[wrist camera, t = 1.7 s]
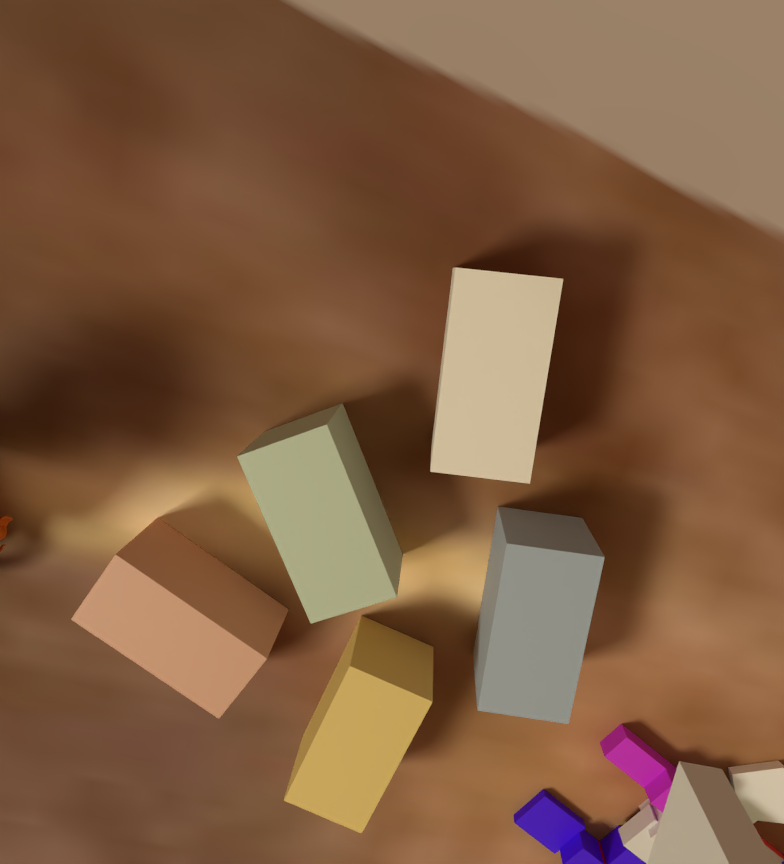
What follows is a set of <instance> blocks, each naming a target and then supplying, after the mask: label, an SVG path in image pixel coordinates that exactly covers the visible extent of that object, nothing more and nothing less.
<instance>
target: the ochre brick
mask: <svg viewBox="0 0 784 864" xmlns="http://www.w3.org/2000/svg"><path fill="white" fill-rule="evenodd" d="M433 650H434V647H432V646H430V645H428V644H426V643H423V642H421V641H419V640H416V639H414V638H412V637H410V636H407V635H405V634H403V633H400V632H398V631H396V630H394V629H391V628H389V627H387V626H384V625H382V624H380V623H378V622H375V621H373V620H371V619H368V618H366V617H364V616H362V615H361V617H360V619H359V621H358V623H357V625H356V627H355V629H354V632H353V634H352V636H351V638H350V640H349V642H348V644H347V646H346V648H345V650H344V652H343V654H342V656H341V658H340V660H339V662H338V665H337V667H336V669H335V671H334V673H333V675H332V677H331V679H330V681H329V683H328V685H327V687H326V689H325V691H324V693H323V696H322V698H321V700H320V702H319V704H318V706H317V708H316V710H315V712H314V714H313V716H312V718H311V720H310V722H309V724H308V726H307V729H306V731H305V733H304V735H303V737H302V740H301V744H300V747H299V751H298V754H297V757H296V761H295V764H294V768H293V771H292V774H291V778H290V781H289V784H288V788H287V791H286V795H285V798H284V801H286V802H288V803H291V804H293V805H296V806H298V807H300V808H303V809H305V810H307V811H310V812H312V813H314V814H317V815H319V816H321V817H324V818H326V819H329V820H331V821H333V822H336V823H338V824H340V825H343V826H345V827H347V828H350V829H352V830H354V831H357V832H359V833H362V832H363V830H364V828H365V826H366V824H367V822H368V821H369V819H370V817H371V815H372V813H373V811H374V810H375V808H376V806H377V804H378V802H379V800H380V798H381V797H382V795H383V793H384V791H385V789H386V787H387V785H388V784H389V782H390V780H391V778H392V776H393V774H394V772H395V771H396V769H397V767H398V765H399V763H400V761H401V760H402V758H403V756H404V754H405V752H406V750H407V748H408V747H409V745H410V743H411V741H412V739H413V737H414V735H415V734H416V732H417V730H418V728H419V726H420V724H421V723H422V721H423V719H424V717H425V715H426V713H427V711H428V710H429V708H430V706H431V704H432V702H433Z"/></svg>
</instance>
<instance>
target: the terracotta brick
mask: <svg viewBox="0 0 784 864" xmlns="http://www.w3.org/2000/svg"><path fill="white" fill-rule="evenodd" d="M288 610H289V609H287V608H286V607H285V606H283V605H282V604H280V603H279V602H277V601H276V600H275V599H273V598H272V597H270V596H269V595H267V594H266V593H265V592H263V591H262V590H260V589H259V588H257V587H256V586H255V585H253V584H252V583H250V582H249V581H247V580H246V579H245V578H243V577H242V576H240V575H239V574H237V573H236V572H234V571H233V570H232V569H230V568H229V567H227V566H226V565H224V564H223V563H222V562H220V561H219V560H217V559H216V558H214V557H213V556H212V555H210V554H209V553H207V552H206V551H204V550H203V549H202V548H200V547H199V546H197V545H196V544H194V543H193V542H192V541H190V540H189V539H187V538H186V537H184V536H183V535H182V534H180V533H179V532H177V531H176V530H174V529H173V528H172V527H170V526H169V525H167V524H166V523H164V522H163V521H162V520H160V519H159V518H157V519H156V520H154V521H153V522H152V523H151V524H150V525H149V526H148V527H146V528H145V529H144V530H143V531H142V532H141V533H140V534H138V535H137V536H136V537H135V538H134V539H133V540H132V541H130V542H129V543H128V544H127V545H126V546H125V547H124V548H122V549H121V550H120V551H119V552H118V553H117V554H116V555H115V556H114V557H113V559H112V560H111V562H110V563H109V565H108V566H107V568H106V569H105V571H104V572H103V574H102V575H101V576H100V578H99V579H98V581H97V582H96V584H95V585H94V587H93V588H92V590H91V591H90V593H89V594H88V595H87V597H86V598H85V600H84V601H83V603H82V604H81V606H80V607H79V609H78V610H77V611H76V613H75V614H74V616H73V617H72V619H71V620H73V621H74V622H76V623H77V624H79V625H80V626H82V627H83V628H85V629H86V630H88V631H89V632H91V633H92V634H94V635H95V636H96V637H98V638H99V639H101V640H102V641H104V642H105V643H107V644H108V645H110V646H111V647H113V648H114V649H116V650H117V651H119V652H120V653H122V654H123V655H125V656H126V657H128V658H129V659H131V660H132V661H134V662H135V663H137V664H138V665H140V666H141V667H143V668H144V669H146V670H147V671H149V672H150V673H152V674H153V675H155V676H156V677H157V678H159V679H160V680H162V681H163V682H165V683H166V684H168V685H169V686H171V687H172V688H174V689H175V690H177V691H178V692H180V693H181V694H183V695H184V696H186V697H187V698H189V699H190V700H192V701H193V702H195V703H196V704H198V705H199V706H201V707H202V708H204V709H205V710H207V711H208V712H210V713H211V714H213V715H214V716H215V717H217V718H218V719H219V718H220V717H221V715H222V714H223V713H224V712H225V710H226V709H227V708H228V707H229V705H230V704H231V703H232V702H233V700H234V699H235V698H236V697H237V695H238V694H239V693H240V692H241V690H242V689H243V688H244V687H245V685H246V684H247V683H248V682H249V681H250V679H251V678H252V677H253V676H254V674H255V673H256V672H257V671H258V669H259V668H260V667H261V666H262V664H263V663H264V662H265V661H266V659H267V658H268V655H269V653H270V651H271V649H272V646H273V644H274V642H275V640H276V637H277V635H278V633H279V631H280V628H281V626H282V624H283V622H284V619H285V617H286V615H287V613H288Z"/></svg>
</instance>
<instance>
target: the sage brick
mask: <svg viewBox="0 0 784 864" xmlns="http://www.w3.org/2000/svg"><path fill="white" fill-rule="evenodd" d="M237 458H238V460H239V462H240V464H241V467H242V469H243V471H244V474H245V476H246V478H247V480H248V483H249V485H250V487H251V489H252V492H253V494H254V496H255V498H256V501H257V503H258V505H259V508H260V510H261V512H262V514H263V517H264V519H265V521H266V523H267V526H268V528H269V530H270V533H271V535H272V537H273V539H274V542H275V544H276V546H277V548H278V551H279V553H280V555H281V557H282V560H283V562H284V564H285V567H286V569H287V571H288V573H289V576H290V578H291V580H292V582H293V585H294V587H295V589H296V592H297V594H298V596H299V598H300V601H301V603H302V605H303V607H304V610H305V612H306V614H307V616H308V619H309V621H310V623H311V624H312V623H315V622H318V621H321V620H325V619H328V618H331V617H334V616H338V615H341V614H344V613H347V612H351V611H354V610H357V609H360V608H364V607H367V606H370V605H373V604H377V603H380V602H383V601H386V600H390V599H393V598H396V597H397V593H398V585H399V578H400V570H401V563H402V556H403V554H402V551H401V549H400V546H399V544H398V541H397V539H396V536H395V534H394V531H393V529H392V526H391V524H390V521H389V519H388V516H387V514H386V511H385V509H384V506H383V504H382V501H381V498H380V496H379V493H378V491H377V488H376V486H375V483H374V481H373V478H372V476H371V473H370V471H369V468H368V466H367V463H366V461H365V458H364V456H363V453H362V451H361V448H360V446H359V443H358V441H357V438H356V436H355V433H354V431H353V428H352V426H351V423H350V420H349V418H348V415H347V413H346V410H345V408H344V405H343V403H342V404H339V405H336V406H333V407H331V408H328V409H325V410H322V411H320V412H317V413H314V414H311V415H309V416H306V417H303V418H300V419H297V420H295V421H292V422H289V423H286V424H284V425H281V426H278V427H275V428H272V429H270V430H267V431H265V432H263V433H262V434H261V435H260V436H259V437H258V438H257V439H256V440H255V441H253V442H252V443H251V444H250V445H249V446H248V447H247V448H246V449H245V450H244V451H242V452H241V453H240V454H239V455H238V456H237Z"/></svg>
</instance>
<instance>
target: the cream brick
mask: <svg viewBox="0 0 784 864" xmlns="http://www.w3.org/2000/svg"><path fill="white" fill-rule="evenodd" d="M562 285H563V279H560V278H551V277H541V276H532V275H522V274H513V273H503V272H494V271H484V270H475V269H465V268H456V267H455V268H453V272H452V280H451V288H450V296H449V305H448V313H447V321H446V329H445V337H444V345H443V354H442V362H441V370H440V378H439V386H438V395H437V403H436V411H435V419H434V427H433V436H432V444H431V465H430V472H437V473H445V474H454V475H462V476H470V477H479V478H487V479H496V480H504V481H512V482H521V483H529V484H530V480H531V474H532V467H533V461H534V455H535V449H536V443H537V437H538V431H539V425H540V419H541V413H542V406H543V400H544V394H545V388H546V382H547V376H548V370H549V364H550V358H551V352H552V345H553V339H554V333H555V327H556V321H557V315H558V309H559V303H560V297H561V291H562Z"/></svg>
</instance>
